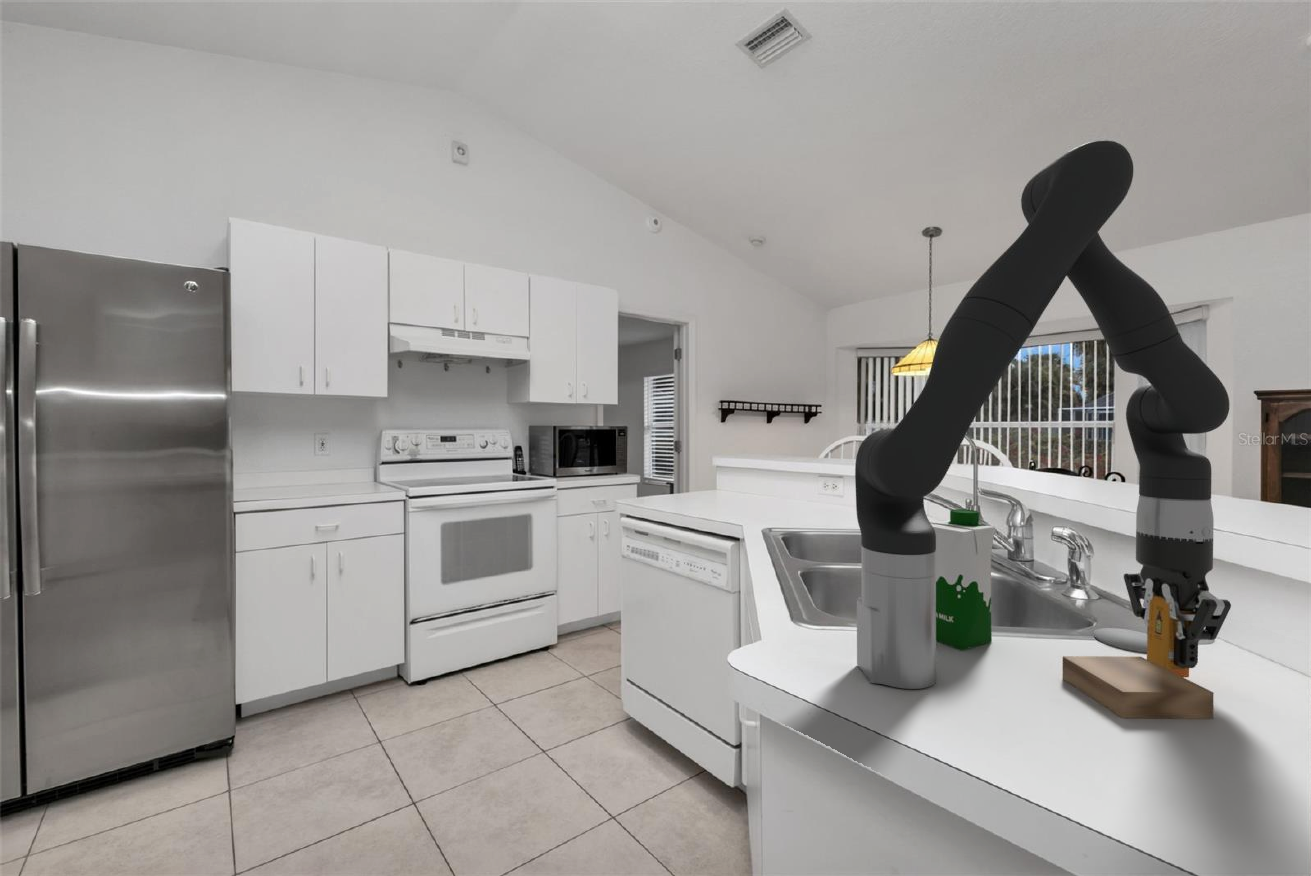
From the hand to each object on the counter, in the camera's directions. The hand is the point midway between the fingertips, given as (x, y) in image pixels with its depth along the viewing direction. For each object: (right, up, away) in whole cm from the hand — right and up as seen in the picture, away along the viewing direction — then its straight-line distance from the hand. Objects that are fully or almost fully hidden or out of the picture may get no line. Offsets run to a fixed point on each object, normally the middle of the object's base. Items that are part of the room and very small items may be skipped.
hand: (1171, 660), depth 75 cm
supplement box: (0, -2, 0) cm, 2 cm away
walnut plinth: (-10, -2, -6) cm, 12 cm away
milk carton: (-21, -2, +14) cm, 26 cm away
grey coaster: (+5, -2, +12) cm, 13 cm away
